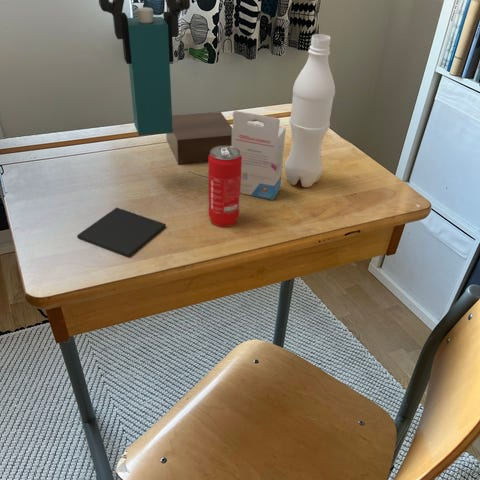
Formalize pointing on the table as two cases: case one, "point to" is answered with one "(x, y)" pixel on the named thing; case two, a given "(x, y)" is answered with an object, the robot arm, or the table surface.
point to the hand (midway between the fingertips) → (148, 59)
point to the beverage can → (224, 185)
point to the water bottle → (310, 114)
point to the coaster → (122, 232)
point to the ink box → (259, 153)
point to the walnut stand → (198, 136)
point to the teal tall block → (150, 73)
